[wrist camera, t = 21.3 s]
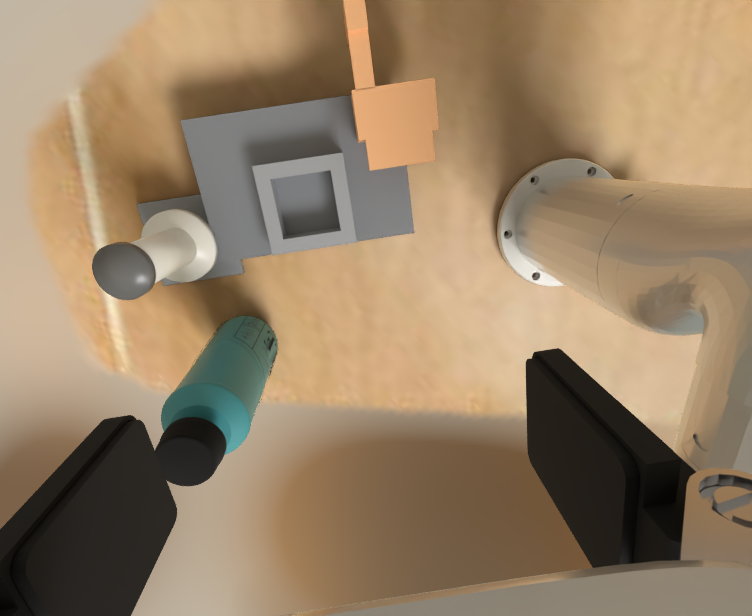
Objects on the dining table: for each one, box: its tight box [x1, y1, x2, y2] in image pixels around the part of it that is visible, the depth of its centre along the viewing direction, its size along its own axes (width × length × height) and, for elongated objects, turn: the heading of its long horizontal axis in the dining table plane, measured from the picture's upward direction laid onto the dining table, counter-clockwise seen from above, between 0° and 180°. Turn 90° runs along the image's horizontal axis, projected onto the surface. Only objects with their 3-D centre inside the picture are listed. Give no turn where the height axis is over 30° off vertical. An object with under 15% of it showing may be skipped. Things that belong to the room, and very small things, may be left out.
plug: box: [92, 209, 218, 300], centre depth 35 cm, size 6×6×12 cm
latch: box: [343, 0, 439, 171], centre depth 32 cm, size 6×11×5 cm, turn 8°
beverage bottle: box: [155, 316, 278, 486], centre depth 35 cm, size 6×7×20 cm
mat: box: [137, 194, 245, 286], centre depth 41 cm, size 8×8×1 cm
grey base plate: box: [180, 95, 414, 262], centre depth 37 cm, size 18×12×6 cm, turn 98°
